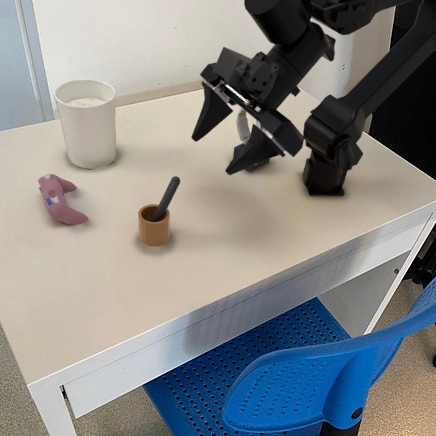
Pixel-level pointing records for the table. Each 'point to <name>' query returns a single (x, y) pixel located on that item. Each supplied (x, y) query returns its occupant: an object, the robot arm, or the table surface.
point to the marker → (166, 199)
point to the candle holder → (88, 121)
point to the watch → (246, 136)
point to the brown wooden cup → (153, 226)
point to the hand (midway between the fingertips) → (209, 156)
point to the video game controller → (59, 199)
